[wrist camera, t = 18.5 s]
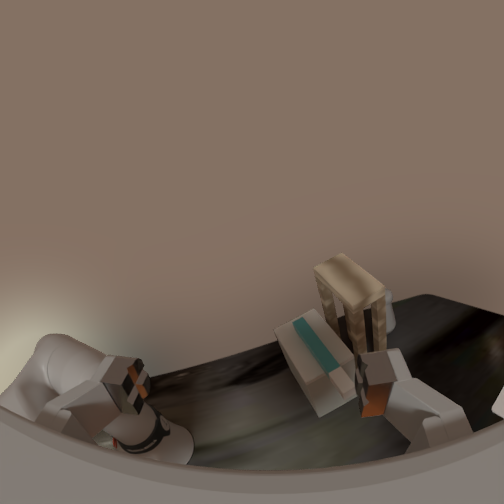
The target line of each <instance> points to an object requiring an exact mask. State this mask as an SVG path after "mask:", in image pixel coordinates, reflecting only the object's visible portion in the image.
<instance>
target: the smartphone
mask: <svg viewBox="0 0 504 504" xmlns="http://www.w3.org/2000/svg"><path fill="white" fill-rule="evenodd" d="M491 410H492V412H494V413H495V414H497V415H499V416H501V417H502V418H504V387H503V389H502V390H501V392H500V394H499V396H498V397H497V399H496V401H495V403H494V404H493V406H492V409H491Z"/></svg>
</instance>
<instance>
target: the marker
mask: <svg viewBox="0 0 504 504" xmlns="http://www.w3.org/2000/svg"><path fill="white" fill-rule="evenodd" d="M292 323H293V326H294V329H295V331H296V332H297V334H298V335H299V337H300V338H301V339H302V341H303V342H304V344H305V345H306V347H307V348H308V349H309V351H310V352H311V354H312V355H313V357H314V358H315V359H316V361H317V362H318V364H319V365H320V367H321V368H322V369H323V371H324V372H325V374H326V375H327V377H328V378H329V379H330V381H331V382H332V384H333V385H334V386H335V388H336V389H337V391H338V392H339V394H340V395H341V396H342V398H343V399H344V400H346V399H347V398H349V397H351V396H352V395H354V394H356V390H355V384H354V383H353V382H352V380H351V379H350V378H349V376H348V375H347V374H346V372H345V371H344V370H343V369H342V367H341V366H340V365H339V363H338V362H337V361H336V359H335V358H334V357H333V356H332V354H331V353H330V352H329V350H328V349H327V348H326V346H325V345H324V344H323V343H322V341H321V340H320V339H319V337H318V336H317V335H316V333H315V332H314V331H313V330H312V328H311V327H310V326H309V324H308V323H307V322H306V320H305V319H304V318H303V317H301V318H299V319H297V320H296V321H294V322H292Z"/></svg>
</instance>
